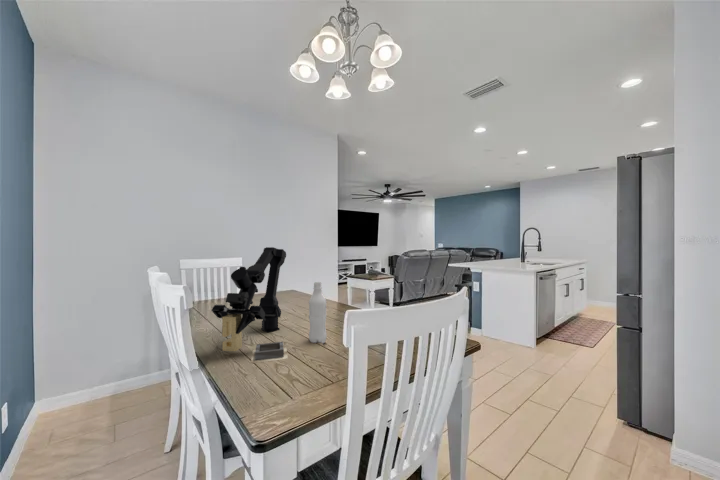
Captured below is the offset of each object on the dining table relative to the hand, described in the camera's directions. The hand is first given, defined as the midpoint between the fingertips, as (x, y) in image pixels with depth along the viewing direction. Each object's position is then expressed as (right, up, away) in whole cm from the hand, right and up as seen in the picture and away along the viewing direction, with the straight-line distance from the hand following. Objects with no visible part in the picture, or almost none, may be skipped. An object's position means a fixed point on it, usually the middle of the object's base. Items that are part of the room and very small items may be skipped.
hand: (230, 333), depth 101 cm
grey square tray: (+14, -10, +2) cm, 17 cm away
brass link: (0, -6, +1) cm, 6 cm away
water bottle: (+29, -10, +16) cm, 34 cm away
